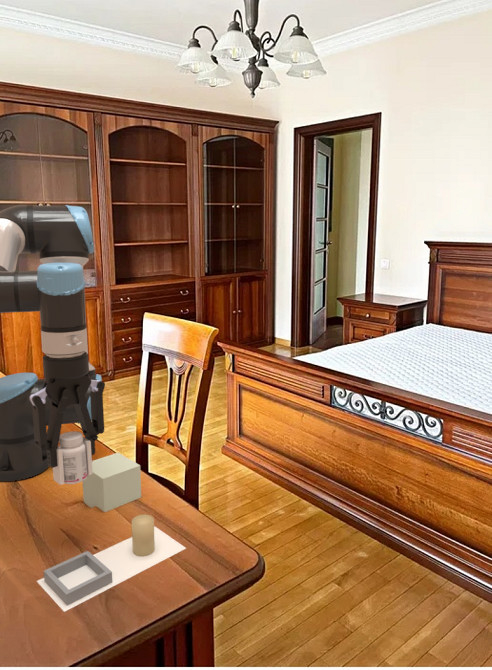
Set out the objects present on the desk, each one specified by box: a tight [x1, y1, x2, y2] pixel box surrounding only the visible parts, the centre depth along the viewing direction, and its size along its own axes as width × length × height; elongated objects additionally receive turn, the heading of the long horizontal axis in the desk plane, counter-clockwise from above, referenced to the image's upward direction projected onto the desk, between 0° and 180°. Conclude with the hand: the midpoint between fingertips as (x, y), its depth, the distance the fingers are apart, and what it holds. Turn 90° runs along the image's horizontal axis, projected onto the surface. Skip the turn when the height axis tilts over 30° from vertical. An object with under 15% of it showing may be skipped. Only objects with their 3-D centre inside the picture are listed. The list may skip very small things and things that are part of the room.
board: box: [36, 514, 187, 613], centre depth 95 cm, size 10×24×8 cm, turn 134°
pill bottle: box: [58, 430, 87, 485], centre depth 98 cm, size 5×5×8 cm
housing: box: [82, 452, 142, 513], centre depth 118 cm, size 9×9×9 cm
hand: (73, 476), depth 99 cm, fingers closed on pill bottle, 5 cm apart
